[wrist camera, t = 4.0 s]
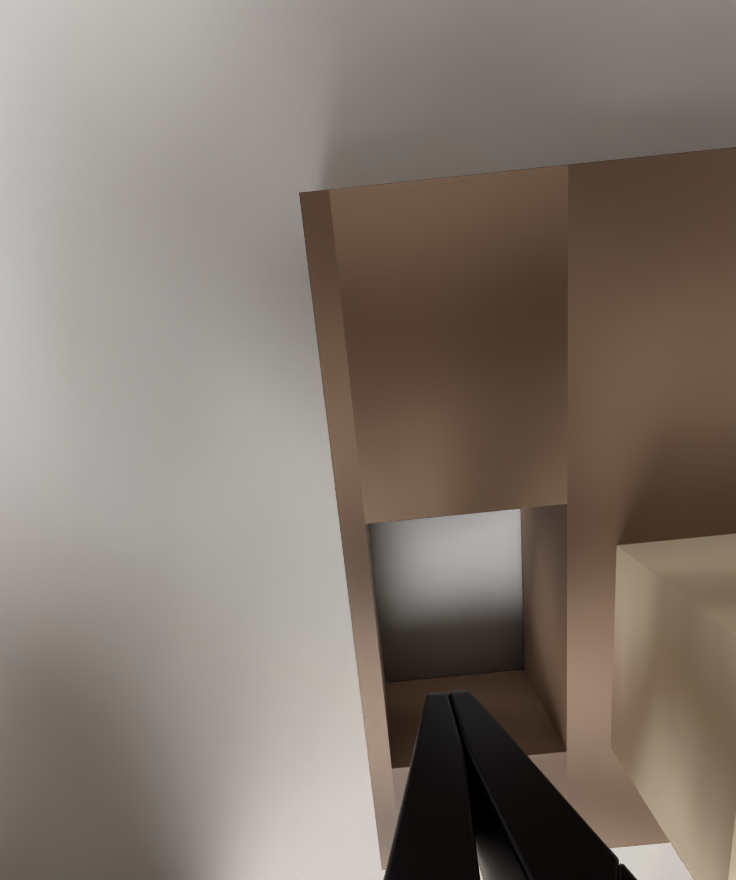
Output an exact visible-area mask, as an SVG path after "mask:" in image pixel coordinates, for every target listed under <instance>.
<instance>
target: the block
mask: <svg viewBox="0 0 736 880" xmlns="http://www.w3.org/2000/svg"><path fill="white" fill-rule="evenodd" d="M611 749H612V750H613V752H614V754H615V755H616V757H617V758H618V760H619V762H620V763H621V765H622V766H623V768H624V770H625V771H626V773H627V774H628V776H629V777H630V779H631V781H632V782H633V784H634V785H635V787H636V789H637V790H638V792H639V793H640V795H641V797H642V798H643V800H644V801H645V803H646V805H647V806H648V808H649V809H650V811H651V813H652V814H653V816H654V817H655V819H656V820H657V822H658V824H659V825H660V827H661V828H662V830H663V832H664V833H665V835H666V836H667V838H668V840H669V841H670V843H671V844H672V846H673V848H674V849H675V851H676V852H677V854H678V856H679V857H680V859H681V860H682V862H683V863H684V865H685V867H686V868H687V870H688V871H689V873H690V875H691V876H692V878H693V879H694V880H736V534H727V535H716V536H706V537H696V538H686V539H676V540H666V541H656V542H646V543H636V544H626V545H617V551H616V585H615V618H614V652H613V686H612V719H611Z"/></svg>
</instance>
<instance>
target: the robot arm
mask: <svg viewBox="0 0 736 880" xmlns="http://www.w3.org/2000/svg"><path fill="white" fill-rule="evenodd" d="M478 863H479V865H478ZM479 866H480V870H481V873H482V877H483V880H637V879H636V878H635V877H634V875H633V874H632V873H631V872H630V871H629V870H628V869H627V867H626V866H625V865H624V864H620V865H619V860H618V858H617V856H616V855H615V854H614V853H613V852H612V851H611V850H610V849H609V847H608V846H607V845H606V844H605V843H604V842H603V841H602V839H601V838H600V837H599V836H598V835H597V834H596V833H595V832H594V830H593V829H592V828H591V827H590V826H589V825H588V824H587V822H586V821H585V820H584V819H583V818H582V817H581V816H580V815H579V813H578V812H577V811H576V810H575V809H574V808H573V807H572V805H571V804H570V803H569V802H568V801H567V800H566V799H565V798H564V796H563V795H562V794H561V793H560V792H559V791H558V790H557V788H556V787H555V786H554V785H553V784H552V783H551V782H550V781H549V779H548V778H547V777H546V776H545V775H544V774H543V773H542V771H541V770H540V769H539V768H538V767H537V766H536V765H535V764H534V762H533V761H532V760H531V759H530V758H529V757H528V756H527V754H526V753H525V752H524V751H523V750H522V749H521V748H520V747H519V745H518V744H517V743H516V742H515V741H514V740H513V739H512V737H511V736H510V735H509V734H508V733H507V732H506V731H505V730H504V728H503V727H502V726H501V725H500V724H499V723H498V722H497V720H496V719H495V718H494V717H493V716H492V715H491V714H490V713H489V711H488V710H487V709H486V708H485V707H484V706H483V705H482V703H481V702H480V701H479V700H478V699H477V698H476V697H475V696H474V694H473V693H472V692H471V691H469V690H457V691H451V692H450V693H449V695H448V694H447V693H446V692H437V693H429V694H427V696H426V699H425V703H424V707H423V712H422V716H421V720H420V725H419V729H418V733H417V738H416V742H415V746H414V751H413V755H412V759H411V764H410V768H409V772H408V776H407V781H406V785H405V789H404V794H403V798H402V802H401V807H400V811H399V815H398V820H397V824H396V828H395V833H394V837H393V841H392V846H391V850H390V854H389V858H388V863H387V867H386V871H385V876H384V880H480V874H479Z"/></svg>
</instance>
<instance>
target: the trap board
mask: <svg viewBox="0 0 736 880" xmlns="http://www.w3.org/2000/svg"><path fill="white" fill-rule="evenodd" d="M299 195H300V203H301V211H302V220H303V228H304V236H305V244H306V252H307V261H308V269H309V277H310V285H311V293H312V301H313V310H314V318H315V326H316V334H317V342H318V350H319V359H320V367H321V375H322V383H323V391H324V400H325V408H326V416H327V424H328V432H329V440H330V449H331V457H332V465H333V473H334V481H335V490H336V498H337V506H338V514H339V522H340V530H341V539H342V547H343V555H344V563H345V571H346V579H347V588H348V596H349V604H350V612H351V620H352V629H353V637H354V645H355V653H356V661H357V669H358V678H359V686H360V694H361V702H362V710H363V718H364V727H365V735H366V743H367V751H368V759H369V768H370V776H371V784H372V792H373V800H374V808H375V817H376V825H377V833H378V841H379V849H380V858H381V866H382V870H386V867H387V863H388V858H389V854H390V850H391V846H392V841H393V837H394V833H395V828H396V824H397V820H398V815H399V811H400V807H401V802H402V798H403V794H404V789H405V785H406V781H407V776H408V772H409V768H410V764H411V759H412V755H413V751H414V746H415V742H416V738H417V733H418V729H419V725H420V720H421V716H422V712H423V707H424V703H425V699H426V696H427V694H429V693H437V692H446V693H447V694H448V695H449V693H450V692H451V691H457V690H469V691H471V692H472V693H473V694H474V696H475V697H476V698H477V699H478V700H479V701H480V702H481V703H482V705H483V706H484V707H485V708H486V709H487V710H488V711H489V713H490V714H491V715H492V716H493V717H494V718H495V719H496V720H497V722H498V723H499V724H500V725H501V726H502V727H503V728H504V730H505V731H506V732H507V733H508V734H509V735H510V736H511V737H512V739H513V740H514V741H515V742H516V743H517V744H518V745H519V747H520V748H521V749H522V750H523V751H524V752H525V753H526V754H527V756H528V757H529V758H530V759H531V760H532V761H533V762H534V764H535V765H536V766H537V767H538V768H539V769H540V770H541V771H542V773H543V774H544V775H545V776H546V777H547V778H548V779H549V781H550V782H551V783H552V784H553V785H554V786H555V787H556V788H557V790H558V791H559V792H560V793H561V794H562V795H563V796H564V798H565V799H566V800H567V801H568V802H569V803H570V804H571V805H572V807H573V808H574V809H575V810H576V811H577V812H578V813H579V815H580V816H581V817H582V818H583V819H584V820H585V821H586V822H587V824H588V825H589V826H590V827H591V828H592V829H593V830H594V832H595V833H596V834H597V835H598V836H599V837H600V838H601V839H602V841H603V842H604V843H605V844H606V845H607V846H608V847H609V848H617V847H627V846H638V845H648V844H659V843H669V842H670V841H669V840H668V838H667V836H666V835H665V833H664V832H663V830H662V828H661V827H660V825H659V824H658V822H657V820H656V819H655V817H654V816H653V814H652V813H651V811H650V809H649V808H648V806H647V805H646V803H645V801H644V800H643V798H642V797H641V795H640V793H639V792H638V790H637V789H636V787H635V785H634V784H633V782H632V781H631V779H630V777H629V776H628V774H627V773H626V771H625V770H624V768H623V766H622V765H621V763H620V762H619V760H618V758H617V757H616V755H615V754H614V752H613V750H612V749H611V719H612V686H613V652H614V618H615V585H616V551H617V545H626V544H636V543H646V542H656V541H666V540H676V539H686V538H696V537H706V536H716V535H727V534H736V147H733V148H724V149H714V150H705V151H695V152H685V153H676V154H666V155H657V156H647V157H637V158H628V159H618V160H609V161H599V162H589V163H580V164H570V165H561V166H551V167H541V168H532V169H522V170H513V171H503V172H493V173H484V174H474V175H465V176H455V177H445V178H436V179H426V180H417V181H407V182H397V183H388V184H378V185H369V186H359V187H350V188H340V189H330V190H321V191H311V192H301V193H299ZM520 508H521V536H522V580H523V624H524V668H525V669H522V670H512V671H502V672H491V673H481V674H471V675H461V676H451V677H440V678H430V679H420V680H410V681H399V682H389V683H385V674H384V665H383V655H382V646H381V636H380V627H379V618H378V608H377V599H376V589H375V580H374V571H373V561H372V552H371V543H370V533H369V524H370V523H380V522H390V521H400V520H410V519H420V518H430V517H440V516H450V515H460V514H470V513H480V512H490V511H500V510H510V509H520Z"/></svg>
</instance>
